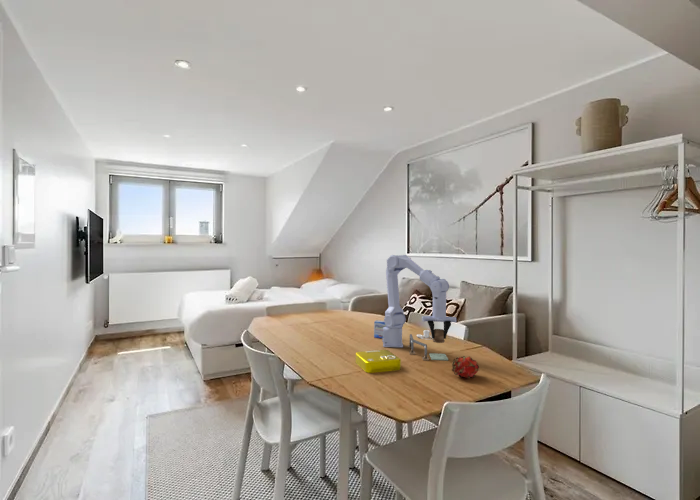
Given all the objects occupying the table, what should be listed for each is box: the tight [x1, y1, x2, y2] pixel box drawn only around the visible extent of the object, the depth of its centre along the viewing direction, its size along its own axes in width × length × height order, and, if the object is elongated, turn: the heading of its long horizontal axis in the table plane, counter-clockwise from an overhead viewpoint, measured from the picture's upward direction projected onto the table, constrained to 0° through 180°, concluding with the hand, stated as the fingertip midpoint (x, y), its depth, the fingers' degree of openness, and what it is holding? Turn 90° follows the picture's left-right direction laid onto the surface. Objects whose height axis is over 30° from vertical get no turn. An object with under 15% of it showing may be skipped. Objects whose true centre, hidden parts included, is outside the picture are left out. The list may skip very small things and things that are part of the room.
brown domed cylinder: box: [432, 328, 446, 344], centre depth 162 cm, size 5×5×5 cm
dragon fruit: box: [451, 355, 480, 379], centre depth 139 cm, size 8×8×12 cm
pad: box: [428, 352, 449, 361], centre depth 162 cm, size 7×8×1 cm
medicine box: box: [373, 319, 386, 339], centre depth 196 cm, size 8×4×9 cm, turn 73°
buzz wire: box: [407, 333, 430, 362], centre depth 168 cm, size 7×20×6 cm, turn 175°
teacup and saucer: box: [416, 329, 433, 340], centre depth 197 cm, size 9×8×4 cm
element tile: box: [355, 349, 402, 374], centre depth 150 cm, size 15×15×5 cm
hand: (438, 338), depth 162 cm, fingers closed on brown domed cylinder, 4 cm apart
